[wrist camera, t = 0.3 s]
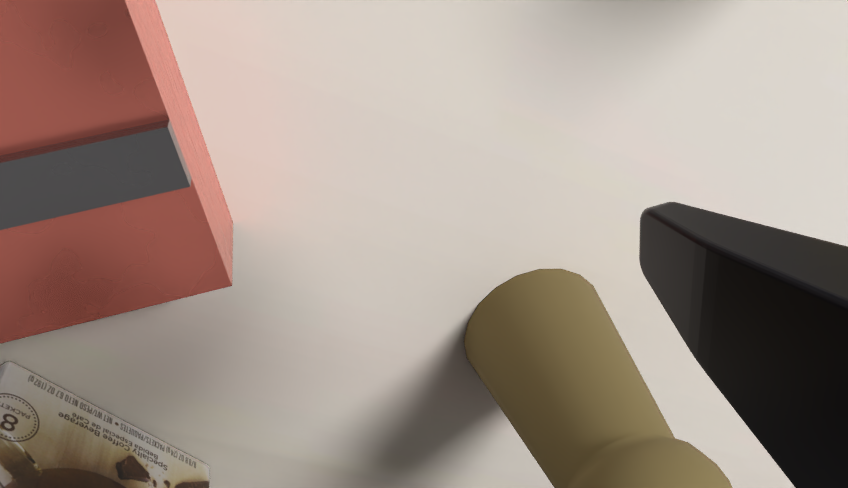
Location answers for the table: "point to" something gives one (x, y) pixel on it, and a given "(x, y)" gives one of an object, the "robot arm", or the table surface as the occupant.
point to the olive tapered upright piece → (576, 388)
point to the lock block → (100, 168)
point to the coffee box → (80, 443)
